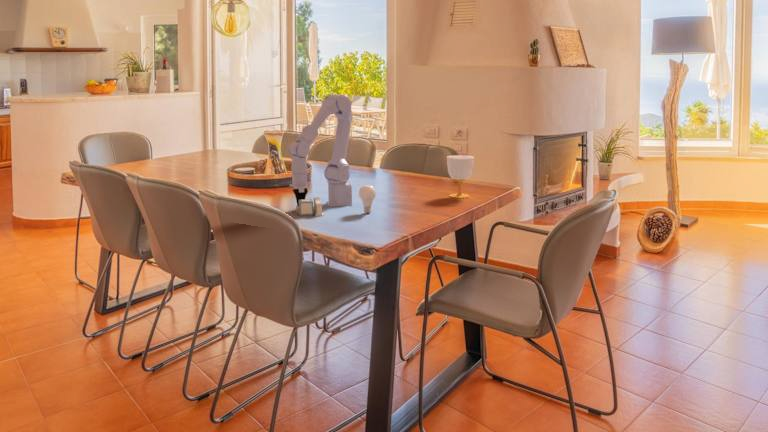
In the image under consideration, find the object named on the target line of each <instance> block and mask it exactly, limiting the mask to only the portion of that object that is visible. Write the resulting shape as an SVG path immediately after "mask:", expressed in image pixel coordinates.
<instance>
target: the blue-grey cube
mask: <svg viewBox="0 0 768 432" xmlns="http://www.w3.org/2000/svg"><path fill="white" fill-rule="evenodd" d="M313 209H314V200H313V199H312V198H305V199H300V200H299V214H300V215H314V212H313ZM299 214H298V215H299Z"/></svg>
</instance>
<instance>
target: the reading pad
mask: <svg viewBox="0 0 768 432" xmlns="http://www.w3.org/2000/svg"><path fill="white" fill-rule="evenodd" d="M297 215H298V217H299V218H300V217H313V215H314V214H313V215H300V214H299V212H298V213H297Z"/></svg>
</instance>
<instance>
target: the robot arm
mask: <svg viewBox="0 0 768 432" xmlns="http://www.w3.org/2000/svg"><path fill="white" fill-rule="evenodd" d="M352 105H353V101H352V99H351V98H350V97H349V96H348V95H347V94H344V93H343V94H338V93H337V94H333V93H329V94H327V95H326V96H325V98H324V99H323V100H322V101H321V106H320V108H319V109H318V111H317V113H316V115H315V116H314V118H313V119H312V121H311V122H310V124H307V125H305V126H303V127H302V128H301V130H302V131H301V132H300V133H299V135H298V137H296V138H295V141H293V142H291V143H290V145H289V147H288V148H287V150H288V154H289V155H290V159H291V176H292V177H291V178H292V183H290V184H289V187H291V188H292V187H293V188H294V189H292V192H293V195H294V196H295V200H296V206H298V205H299V200H300V199H306V196H307V194H308V191H309V190H308V188H307V187H309V184H308V160H307V157H308V155H309V154H310V151H311V148H312V147H311V146H312V144H313V143H314V141H315V140H316V139H317V137H318V135H319V129H320V128H321V126H322V125H323V123H324V122H325V121H326V120H327V118H328V117H329V116H330V115H335V117H336V119H338V120H337V124H336V131H335V138H334V143H333V150H332V157H331V158H330V159H329V160H328V161H327V166H326V167H325V169H324V172H323V174H324V177H325V179H326V180H327V189H328V190H327V191H328V192H327V193H328V194H327V195H328V196H327V197H328V200H327V201H326V204H327V206H328V207H340V206H342V207H343V206H344V207H346V206H353V195H352V194H353V190H352V188H353V187H352V183H351V182H348V181H349V179H350V175H351V174H350V170H349V169H350V164H349V163H348V162H347V154H348V147H349V142H350V141H349V140H350V135H351V129H352V122H353V112H352V111H353V110H352Z"/></svg>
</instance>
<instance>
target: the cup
mask: <svg viewBox="0 0 768 432" xmlns="http://www.w3.org/2000/svg"><path fill="white" fill-rule="evenodd" d="M474 164H475V156H473V155H466V154H465V155H462V154H461V155H458V154H456V155H447V156H446V167H447V173H448V175H449V177H450V178H451V179H452V180H454V181H456V182H457V183H458V192H457V193H450V194H449V195H448V197H450V198H454V199H467V198H466V197H468V198H470V197H471V195H470V194H467V193H462V190H461V189H462V182H464V181H466V180H468V179H469V178H470V177H471V176H472V175H473V170H474ZM469 196H470V197H469Z"/></svg>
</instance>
